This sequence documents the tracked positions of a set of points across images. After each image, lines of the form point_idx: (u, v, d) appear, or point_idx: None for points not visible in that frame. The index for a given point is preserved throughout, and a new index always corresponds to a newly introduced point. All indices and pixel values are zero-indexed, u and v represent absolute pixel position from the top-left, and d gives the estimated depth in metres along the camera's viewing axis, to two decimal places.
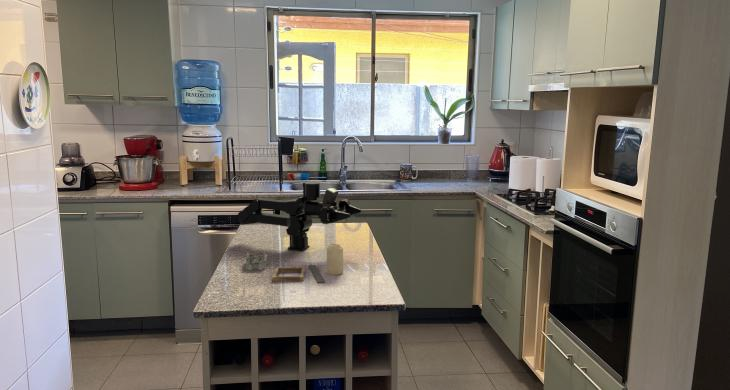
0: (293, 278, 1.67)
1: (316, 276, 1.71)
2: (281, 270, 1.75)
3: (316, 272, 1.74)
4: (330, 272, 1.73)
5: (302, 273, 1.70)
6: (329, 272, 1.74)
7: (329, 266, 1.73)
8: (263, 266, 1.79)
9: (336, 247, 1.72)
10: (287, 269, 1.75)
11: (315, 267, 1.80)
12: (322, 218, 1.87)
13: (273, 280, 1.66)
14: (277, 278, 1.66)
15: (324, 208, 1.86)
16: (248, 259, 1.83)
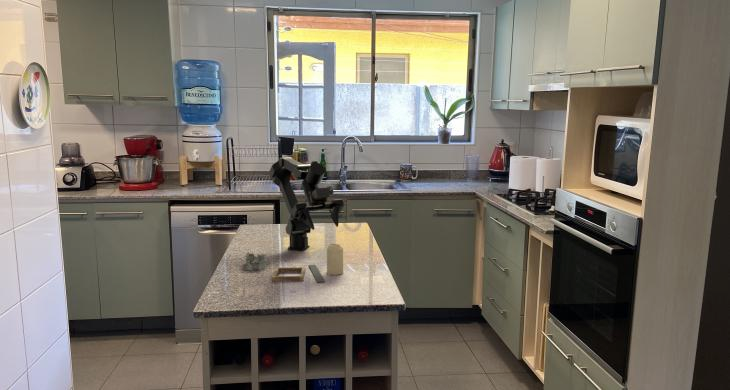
0: (293, 278, 1.67)
1: (316, 276, 1.71)
2: (281, 270, 1.75)
3: (316, 272, 1.74)
4: (330, 272, 1.73)
5: (302, 273, 1.70)
6: (329, 272, 1.74)
7: (329, 266, 1.73)
8: (263, 266, 1.79)
9: (336, 247, 1.72)
10: (287, 269, 1.75)
11: (315, 267, 1.80)
12: (293, 211, 1.81)
13: (273, 280, 1.66)
14: (277, 278, 1.66)
15: (296, 206, 1.78)
16: (248, 259, 1.83)
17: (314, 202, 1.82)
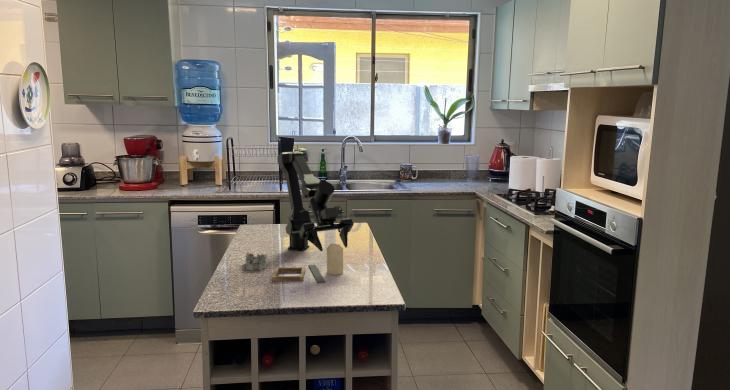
0: (293, 278, 1.67)
1: (316, 276, 1.71)
2: (281, 270, 1.75)
3: (316, 272, 1.74)
4: (330, 272, 1.73)
5: (302, 273, 1.70)
6: (329, 272, 1.74)
7: (329, 266, 1.73)
8: (264, 266, 1.80)
9: (336, 247, 1.72)
10: (287, 269, 1.75)
11: (315, 267, 1.80)
12: (300, 231, 1.75)
13: (273, 280, 1.66)
14: (277, 278, 1.66)
15: (304, 227, 1.72)
16: (248, 259, 1.83)
17: (322, 222, 1.77)
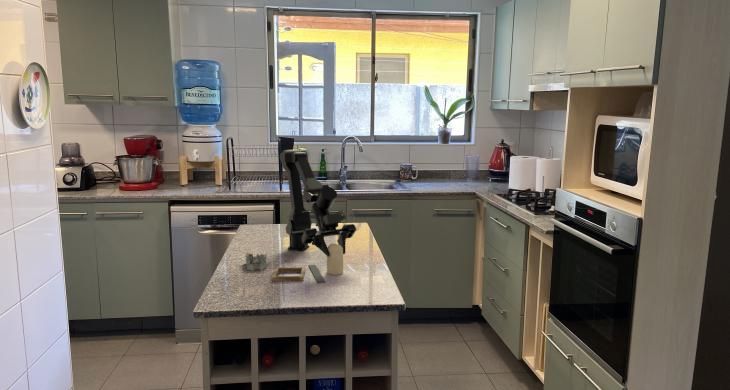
0: (293, 278, 1.67)
1: (316, 276, 1.71)
2: (281, 270, 1.75)
3: (316, 272, 1.74)
4: (330, 272, 1.73)
5: (302, 273, 1.70)
6: (329, 272, 1.74)
7: (329, 266, 1.73)
8: (265, 266, 1.80)
9: (336, 247, 1.72)
10: (287, 269, 1.75)
11: (315, 267, 1.80)
12: (302, 237, 1.74)
13: (273, 280, 1.66)
14: (277, 278, 1.66)
15: (306, 233, 1.71)
16: (248, 259, 1.83)
17: (325, 228, 1.75)
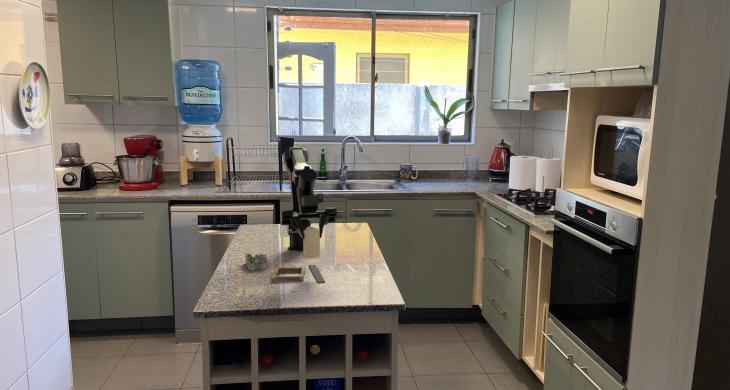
0: (293, 278, 1.67)
1: (316, 276, 1.71)
2: (281, 270, 1.75)
3: (316, 272, 1.74)
4: (305, 255, 1.70)
5: (302, 273, 1.70)
6: (304, 255, 1.70)
7: (304, 249, 1.70)
8: (266, 265, 1.80)
9: (311, 230, 1.68)
10: (287, 269, 1.75)
11: (315, 267, 1.80)
12: None
13: (273, 280, 1.66)
14: (277, 278, 1.66)
15: (282, 214, 1.69)
16: (248, 259, 1.83)
17: (303, 210, 1.72)
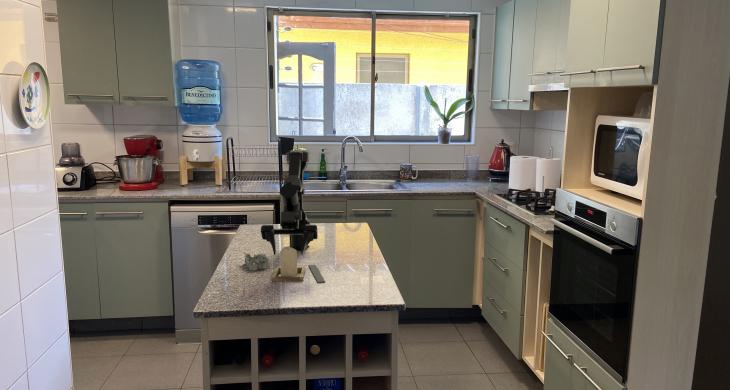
0: (293, 278, 1.67)
1: (316, 276, 1.71)
2: None
3: (316, 272, 1.74)
4: (281, 275, 1.70)
5: (302, 273, 1.70)
6: (281, 275, 1.71)
7: None
8: (267, 265, 1.81)
9: (287, 250, 1.68)
10: None
11: (315, 267, 1.80)
12: None
13: (273, 280, 1.66)
14: (277, 278, 1.66)
15: (261, 228, 1.71)
16: (248, 260, 1.82)
17: (283, 225, 1.72)
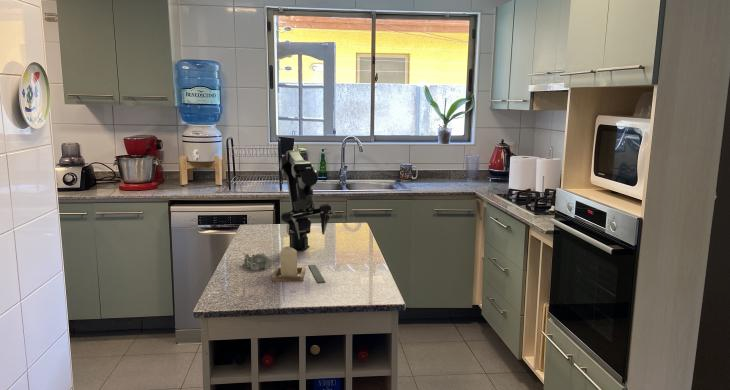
0: (293, 278, 1.67)
1: (316, 276, 1.71)
2: None
3: (316, 272, 1.74)
4: (281, 275, 1.70)
5: (302, 273, 1.70)
6: (281, 275, 1.71)
7: None
8: (268, 264, 1.81)
9: (287, 250, 1.68)
10: None
11: (315, 267, 1.80)
12: None
13: (273, 280, 1.66)
14: (277, 278, 1.66)
15: (281, 218, 1.83)
16: (248, 260, 1.82)
17: (300, 210, 1.82)
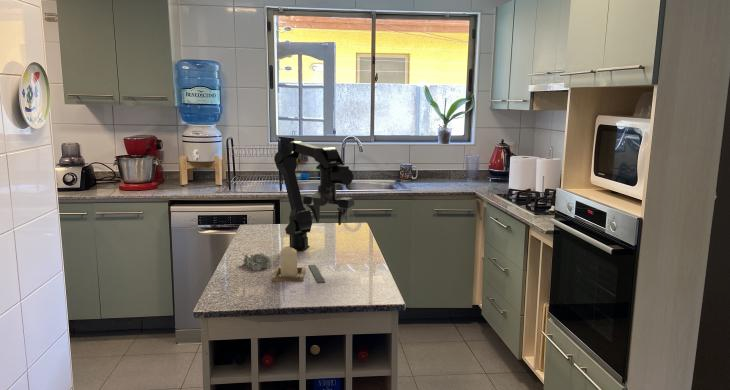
0: (293, 278, 1.67)
1: (316, 276, 1.71)
2: None
3: (316, 272, 1.74)
4: (281, 275, 1.70)
5: (302, 273, 1.70)
6: (281, 275, 1.71)
7: None
8: (269, 264, 1.82)
9: (287, 250, 1.68)
10: None
11: (315, 267, 1.80)
12: None
13: (273, 280, 1.66)
14: (277, 278, 1.66)
15: (303, 201, 1.90)
16: (248, 260, 1.82)
17: None
